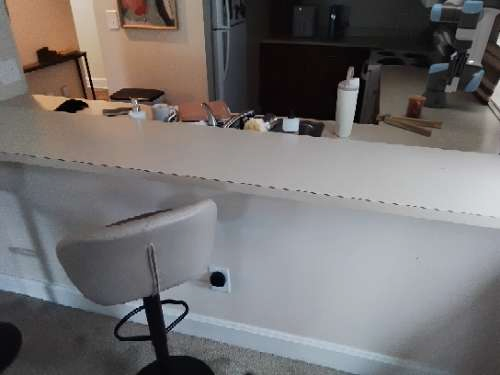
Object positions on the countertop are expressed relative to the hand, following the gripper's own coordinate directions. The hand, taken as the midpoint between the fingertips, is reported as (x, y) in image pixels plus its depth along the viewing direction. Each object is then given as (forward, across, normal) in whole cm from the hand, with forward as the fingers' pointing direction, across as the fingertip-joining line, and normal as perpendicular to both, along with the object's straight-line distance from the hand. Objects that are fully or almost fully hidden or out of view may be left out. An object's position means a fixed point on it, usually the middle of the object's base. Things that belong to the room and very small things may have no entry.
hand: (450, 91), depth 182 cm
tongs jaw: (+16, +11, -8) cm, 21 cm away
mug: (+17, +1, -15) cm, 23 cm away
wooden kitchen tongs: (+17, +19, -8) cm, 27 cm away
